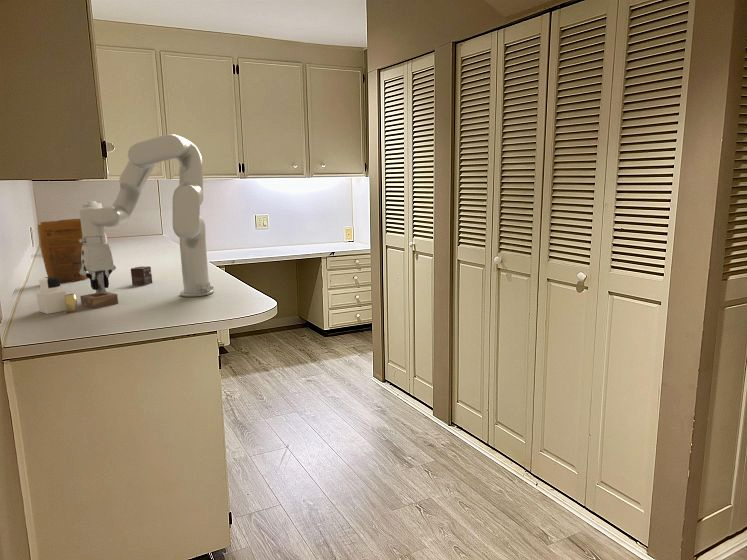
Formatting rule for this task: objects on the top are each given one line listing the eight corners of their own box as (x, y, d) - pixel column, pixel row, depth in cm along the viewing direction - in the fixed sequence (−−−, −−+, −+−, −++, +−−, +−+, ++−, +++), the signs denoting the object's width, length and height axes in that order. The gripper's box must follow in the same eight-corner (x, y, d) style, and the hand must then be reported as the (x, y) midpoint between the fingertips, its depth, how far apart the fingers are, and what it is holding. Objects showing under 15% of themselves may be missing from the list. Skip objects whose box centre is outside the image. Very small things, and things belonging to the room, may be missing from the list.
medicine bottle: (60, 307, 197) (55, 274, 195) (68, 310, 192) (64, 276, 190) (38, 311, 192) (33, 278, 189) (46, 314, 187) (41, 280, 185)
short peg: (79, 311, 190) (77, 294, 189) (69, 313, 188) (67, 296, 187) (75, 310, 192) (72, 293, 191) (64, 312, 190) (62, 295, 189)
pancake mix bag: (93, 279, 251) (85, 218, 245) (45, 285, 240) (36, 221, 234) (90, 277, 256) (83, 217, 251) (43, 283, 245) (34, 220, 240)
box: (144, 285, 233) (142, 268, 232) (131, 285, 235) (130, 268, 233) (152, 282, 239) (151, 266, 238) (140, 282, 240) (138, 266, 239)
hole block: (118, 303, 201) (117, 293, 200) (93, 308, 194) (92, 298, 193) (105, 300, 206) (104, 291, 206) (81, 305, 199) (80, 296, 199)
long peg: (108, 298, 209) (104, 267, 207) (99, 300, 207) (95, 269, 204) (103, 297, 211) (100, 267, 209) (95, 299, 209) (91, 268, 206)
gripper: (76, 243, 196) (83, 293, 200) (120, 238, 209) (126, 285, 213) (66, 242, 201) (73, 291, 204) (110, 237, 213) (116, 283, 217)
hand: (100, 288), depth 208 cm, fingers closed on long peg, 3 cm apart
